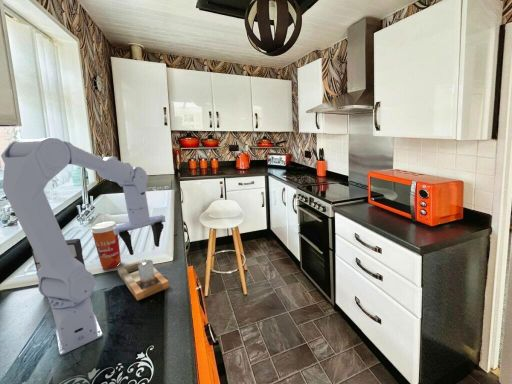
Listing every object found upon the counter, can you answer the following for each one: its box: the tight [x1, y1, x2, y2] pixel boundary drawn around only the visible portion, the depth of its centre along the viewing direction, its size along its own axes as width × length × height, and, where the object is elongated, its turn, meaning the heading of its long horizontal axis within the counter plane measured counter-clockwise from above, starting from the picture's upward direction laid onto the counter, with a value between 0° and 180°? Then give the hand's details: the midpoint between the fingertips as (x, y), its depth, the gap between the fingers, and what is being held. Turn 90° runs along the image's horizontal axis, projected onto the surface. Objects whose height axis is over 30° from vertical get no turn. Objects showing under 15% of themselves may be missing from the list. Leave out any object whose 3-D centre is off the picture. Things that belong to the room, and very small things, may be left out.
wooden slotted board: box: [116, 259, 170, 302], centre depth 83 cm, size 20×9×2 cm, turn 40°
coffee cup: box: [90, 220, 122, 270], centre depth 93 cm, size 8×8×15 cm
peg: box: [137, 259, 156, 289], centre depth 78 cm, size 4×4×8 cm
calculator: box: [31, 238, 86, 272], centre depth 78 cm, size 11×4×15 cm, turn 105°
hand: (144, 249), depth 82 cm, fingers open, 7 cm apart
